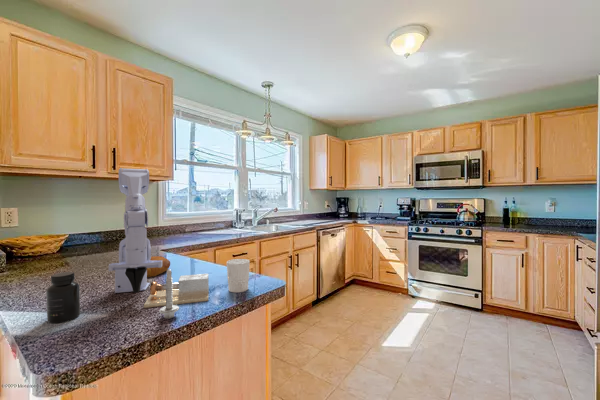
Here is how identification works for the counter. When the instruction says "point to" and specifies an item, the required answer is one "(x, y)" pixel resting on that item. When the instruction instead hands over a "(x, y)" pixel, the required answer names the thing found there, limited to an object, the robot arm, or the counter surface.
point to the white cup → (238, 275)
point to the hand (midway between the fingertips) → (136, 291)
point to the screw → (169, 298)
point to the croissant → (156, 270)
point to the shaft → (161, 287)
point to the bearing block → (183, 291)
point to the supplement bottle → (63, 298)
